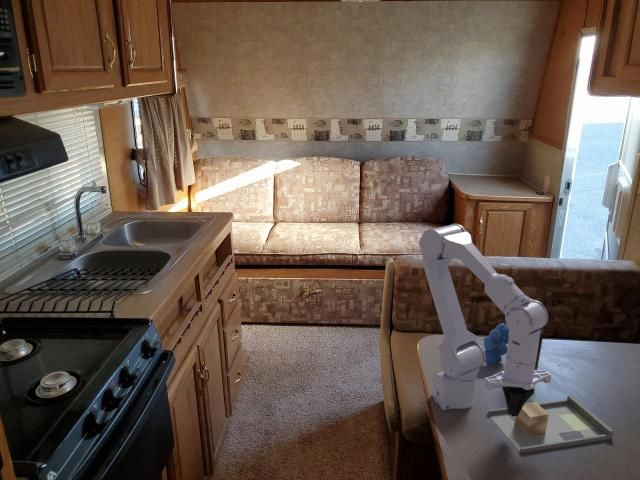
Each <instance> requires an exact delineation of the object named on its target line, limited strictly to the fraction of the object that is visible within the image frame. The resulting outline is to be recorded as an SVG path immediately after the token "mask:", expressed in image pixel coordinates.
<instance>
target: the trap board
mask: <svg viewBox="0 0 640 480" xmlns="http://www.w3.org/2000/svg"><path fill="white" fill-rule="evenodd" d="M536 403H537V404H538V405H539V406H541V407H542V408H543V409H544V410H545V411H546V412H547V413H548V414H549V416H548V422H547V427H546V433H545V434H541V435H535V436H528V437H527V436H526V435H525V434H524V433H523V432H522V431H521V430H520V428H519V427H518V426H517V425H516V424H515V420H513V418H512V417H511V415H510V413H509V412H508V411H507V407H503V408H495V409H488V410H487V416H488V417H489V418H491V420H492V421H493V423H495V425H496V426H497V427H498V428H499V430H500V431H501V432H503V434H504V435H505V436H506V437H507V438H508V440H510V442H511V443H512V445H513V446H514V447H515V448H516V449H517V450H518V451H519V452H520V454H526V453H533V452H538V451H544V450H545V451H546V450H551V449H557V448H562V447H563V448H564V447H570V446H577V445H581V444H582V445H583V444H587V443H588V444H589V443H595V442H600V441H606V440H613V435H614V433H615V432H614V431H615V430H614V429H612V428H611V427H610V426H609V425H607V424H606V422H604V421H603V420H602V419H600V418H599V417H598V416H597V415H596V414H595V413H594V412H592V411H591V410H590V409H589V408H588V407H586V406H585V405H584V404H583V403H581V402H580V401H579V400H577V398H575V397H574V396H573V395H571V394H570V395H567V399H561V400H553V401H545V402H539V403H538V402H536ZM508 413H509V414H508ZM572 432H578V433H579V434H580V435H581V436H583V437H579V438H573V439H566V440H565V439H564V438H563V437H562V436H561V435H560V434H565V433H572Z"/></svg>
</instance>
